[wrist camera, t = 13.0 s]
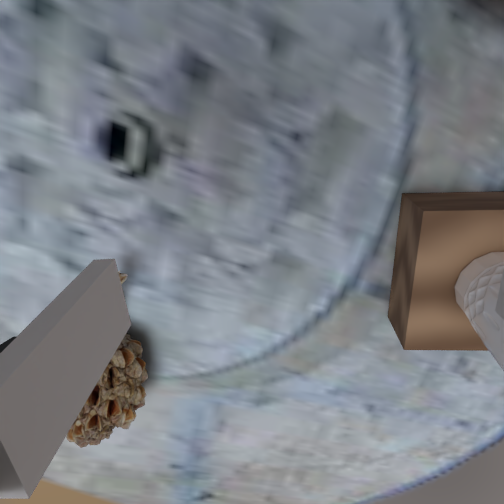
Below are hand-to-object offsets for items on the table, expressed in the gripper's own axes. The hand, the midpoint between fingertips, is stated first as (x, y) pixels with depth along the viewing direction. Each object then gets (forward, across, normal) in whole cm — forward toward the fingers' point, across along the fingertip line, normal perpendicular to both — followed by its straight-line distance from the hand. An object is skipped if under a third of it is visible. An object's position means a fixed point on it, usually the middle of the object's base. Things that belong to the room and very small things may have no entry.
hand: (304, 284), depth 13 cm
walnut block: (+26, +18, -12) cm, 33 cm away
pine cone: (+26, -21, -19) cm, 38 cm away
